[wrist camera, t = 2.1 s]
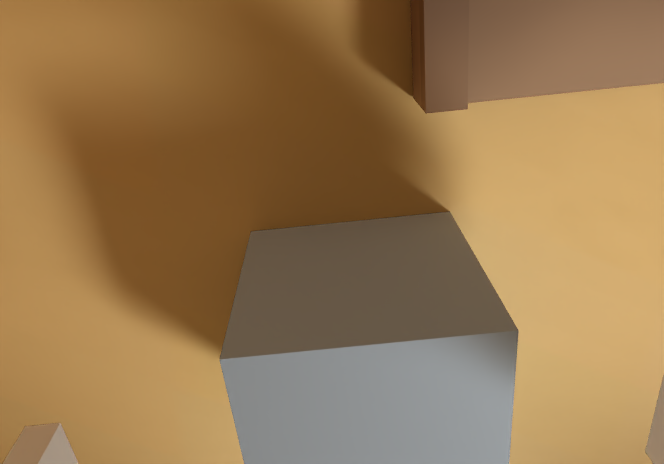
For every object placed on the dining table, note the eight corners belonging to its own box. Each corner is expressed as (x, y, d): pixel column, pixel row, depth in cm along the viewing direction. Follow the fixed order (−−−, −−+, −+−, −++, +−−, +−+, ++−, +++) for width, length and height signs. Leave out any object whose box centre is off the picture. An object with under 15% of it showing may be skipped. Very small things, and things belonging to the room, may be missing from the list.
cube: (449, 366, 19) (504, 527, 13) (278, 383, 19) (264, 549, 13) (449, 210, 16) (518, 330, 11) (250, 230, 16) (219, 359, 11)
